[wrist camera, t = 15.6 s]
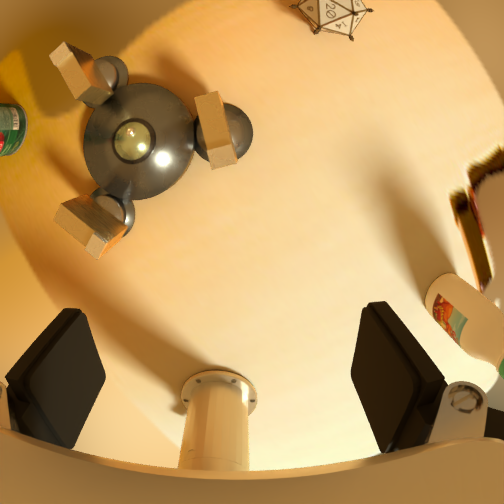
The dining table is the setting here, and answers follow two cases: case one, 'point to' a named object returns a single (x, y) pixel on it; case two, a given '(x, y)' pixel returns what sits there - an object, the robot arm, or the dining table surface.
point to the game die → (333, 15)
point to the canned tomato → (12, 128)
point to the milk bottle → (468, 318)
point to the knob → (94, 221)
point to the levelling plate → (143, 141)
